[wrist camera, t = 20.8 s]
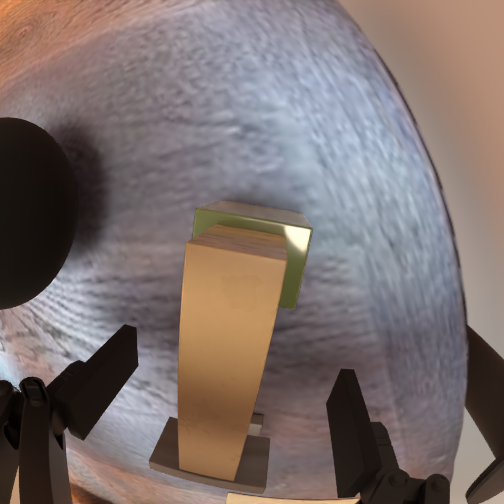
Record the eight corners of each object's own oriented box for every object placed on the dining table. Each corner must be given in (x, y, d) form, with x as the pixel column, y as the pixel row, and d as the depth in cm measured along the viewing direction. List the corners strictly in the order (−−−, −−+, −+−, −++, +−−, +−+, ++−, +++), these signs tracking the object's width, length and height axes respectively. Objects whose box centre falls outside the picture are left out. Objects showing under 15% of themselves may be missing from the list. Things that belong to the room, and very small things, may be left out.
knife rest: (303, 213, 13) (313, 228, 9) (291, 272, 14) (295, 310, 10) (222, 199, 14) (194, 207, 9) (214, 258, 14) (186, 289, 10)
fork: (208, 206, 14) (132, 232, 6) (312, 224, 14) (347, 272, 6) (188, 447, 19) (163, 518, 11) (250, 460, 18) (238, 535, 11)
